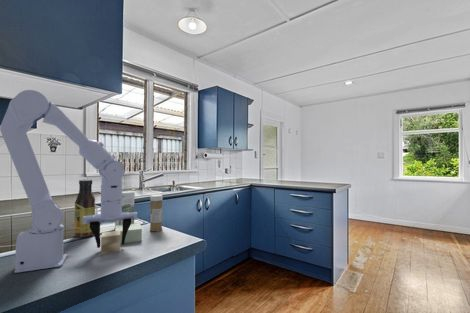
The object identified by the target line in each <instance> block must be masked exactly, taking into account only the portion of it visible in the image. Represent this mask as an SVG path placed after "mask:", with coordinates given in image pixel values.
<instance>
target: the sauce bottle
mask: <svg viewBox="0 0 470 313" xmlns="http://www.w3.org/2000/svg"><path fill="white" fill-rule="evenodd" d="M78 184H79V185H78V186H79V190H78V194H77V197H76V199H75V201H74V224H73V225H74V228H73V230H74V231H73V232H74V236H75V237H76V238H88V237H90V236H94V235H93V233H92V231H91V229H90V227H89V226H90V223H87V224H83V217H84V216H91V215H96V196H94V194H93V191H92V185H93V179H88V178H87V179H86V178H85V179H79V180H78Z"/></svg>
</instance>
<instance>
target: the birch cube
mask: <svg viewBox="0 0 470 313" xmlns="http://www.w3.org/2000/svg"><path fill="white" fill-rule="evenodd" d="M100 241H101V244H100V255H106V254H115V253H120V252H121V243H120V231H115V230H113V231H104V232H102V233H101V235H100Z"/></svg>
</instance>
